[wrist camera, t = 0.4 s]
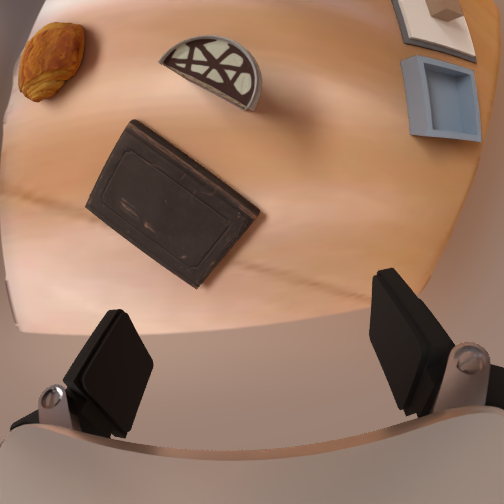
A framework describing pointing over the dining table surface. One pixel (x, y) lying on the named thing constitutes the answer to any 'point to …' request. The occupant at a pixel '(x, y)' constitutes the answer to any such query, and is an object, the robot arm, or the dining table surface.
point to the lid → (437, 24)
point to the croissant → (50, 60)
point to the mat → (421, 43)
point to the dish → (441, 99)
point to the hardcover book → (169, 204)
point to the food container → (218, 68)
